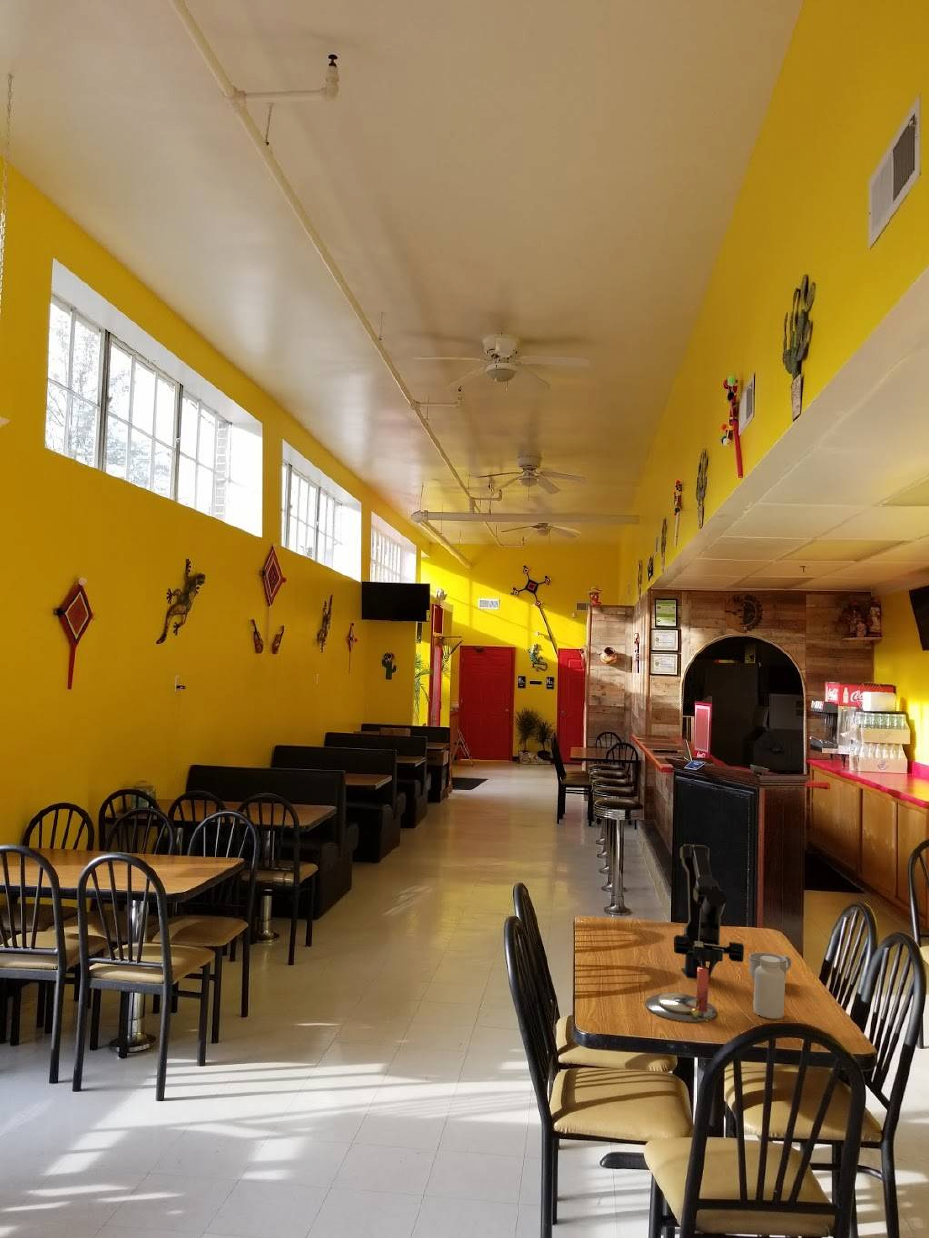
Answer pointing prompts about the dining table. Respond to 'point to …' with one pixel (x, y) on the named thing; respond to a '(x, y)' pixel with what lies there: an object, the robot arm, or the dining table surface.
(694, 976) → the robot arm
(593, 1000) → the dining table surface
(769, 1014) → the pill bottle
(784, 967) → the teacup
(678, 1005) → the flange
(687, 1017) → the post plate
